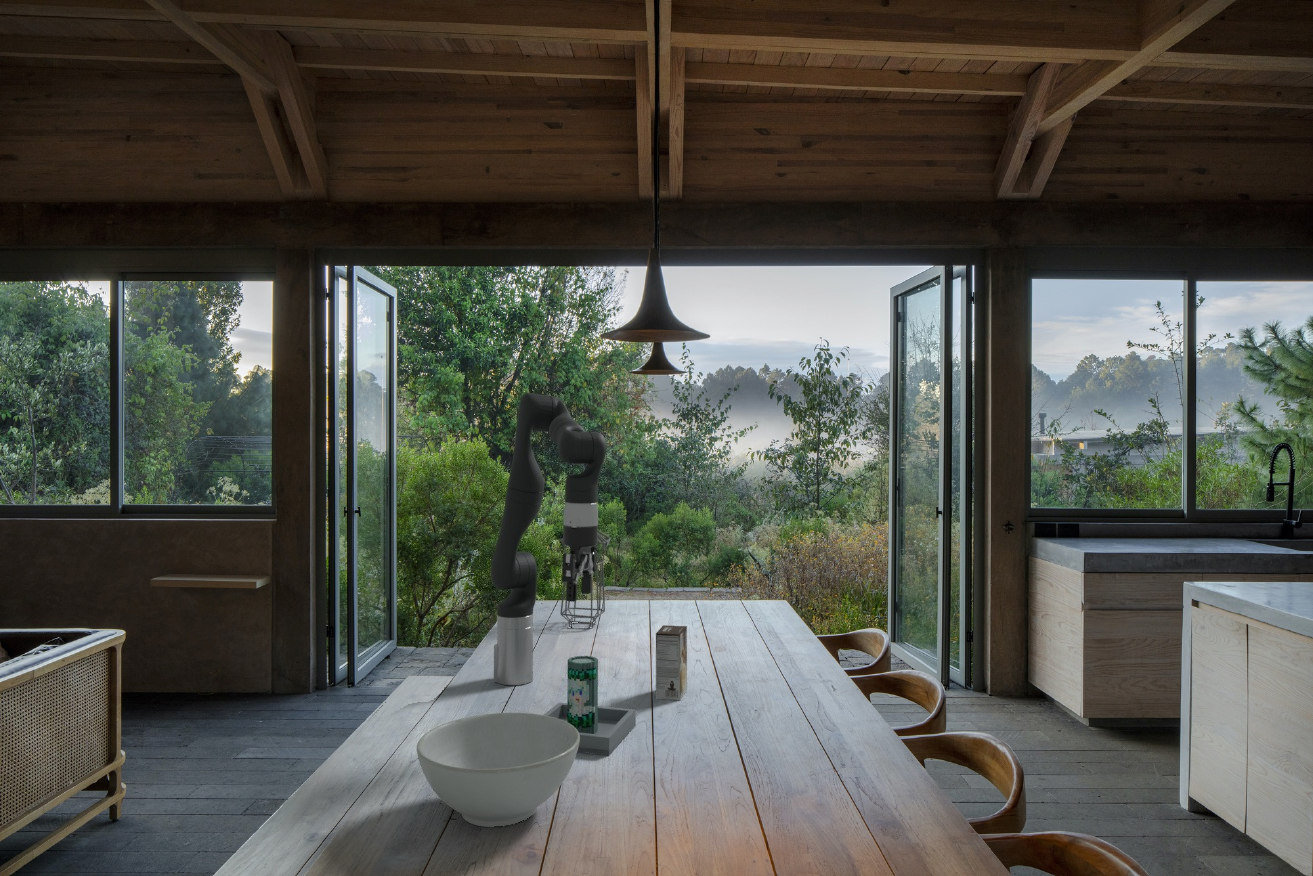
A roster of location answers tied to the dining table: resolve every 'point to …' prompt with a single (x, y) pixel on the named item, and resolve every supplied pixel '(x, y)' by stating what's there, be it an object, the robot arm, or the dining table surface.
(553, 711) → the tray
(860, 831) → the dining table surface
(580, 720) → the can
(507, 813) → the decorative bowl
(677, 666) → the coffee box
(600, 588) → the geometric lantern
